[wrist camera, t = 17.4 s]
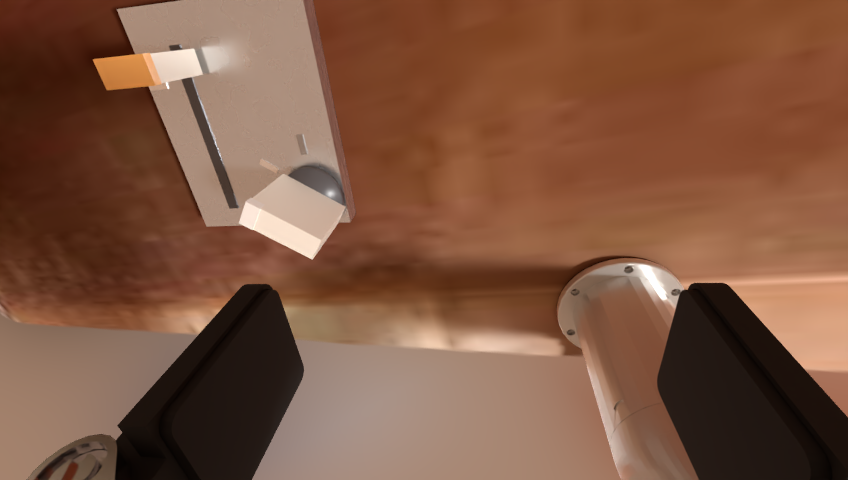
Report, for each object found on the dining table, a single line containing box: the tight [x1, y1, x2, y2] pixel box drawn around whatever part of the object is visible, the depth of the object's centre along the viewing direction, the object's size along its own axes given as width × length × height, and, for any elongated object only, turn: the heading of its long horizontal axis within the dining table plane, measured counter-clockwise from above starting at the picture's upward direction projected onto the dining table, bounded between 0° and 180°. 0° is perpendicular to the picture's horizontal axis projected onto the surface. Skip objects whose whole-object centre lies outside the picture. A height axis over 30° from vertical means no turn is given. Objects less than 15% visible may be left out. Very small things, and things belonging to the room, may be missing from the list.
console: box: [117, 0, 356, 226], centre depth 36 cm, size 20×16×2 cm
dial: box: [239, 166, 345, 260], centre depth 35 cm, size 6×6×7 cm
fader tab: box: [93, 49, 203, 90], centre depth 31 cm, size 2×4×6 cm, turn 96°
